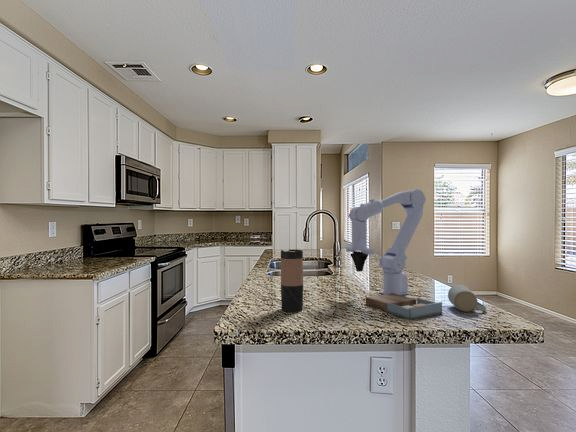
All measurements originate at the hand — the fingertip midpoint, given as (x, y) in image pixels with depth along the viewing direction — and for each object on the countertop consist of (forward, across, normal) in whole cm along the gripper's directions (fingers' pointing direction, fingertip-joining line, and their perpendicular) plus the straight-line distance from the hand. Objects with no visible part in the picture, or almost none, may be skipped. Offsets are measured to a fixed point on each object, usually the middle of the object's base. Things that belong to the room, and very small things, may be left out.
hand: (359, 271), depth 129 cm
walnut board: (+10, +16, 0) cm, 19 cm away
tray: (+10, +26, 0) cm, 28 cm away
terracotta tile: (+8, +28, +3) cm, 29 cm away
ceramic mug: (+10, +32, +19) cm, 39 cm away
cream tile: (+8, +27, -3) cm, 29 cm away
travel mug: (+10, +4, -32) cm, 34 cm away
